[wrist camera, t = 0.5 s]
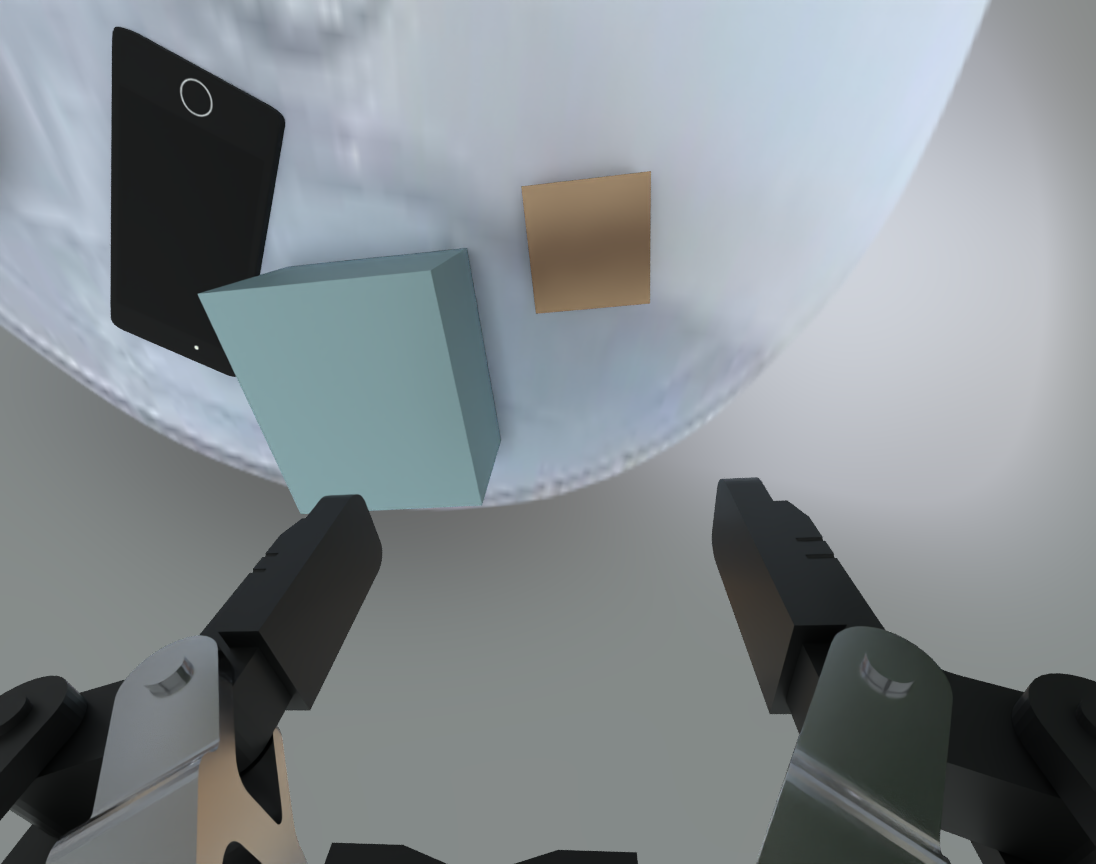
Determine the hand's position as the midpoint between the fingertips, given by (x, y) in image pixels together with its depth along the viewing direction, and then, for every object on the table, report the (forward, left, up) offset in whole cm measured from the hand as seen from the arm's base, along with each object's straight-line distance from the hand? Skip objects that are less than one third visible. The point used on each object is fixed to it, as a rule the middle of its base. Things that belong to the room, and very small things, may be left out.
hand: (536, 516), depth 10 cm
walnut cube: (-4, +2, -22) cm, 22 cm away
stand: (+3, -12, -22) cm, 25 cm away
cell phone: (-6, -23, -23) cm, 33 cm away
